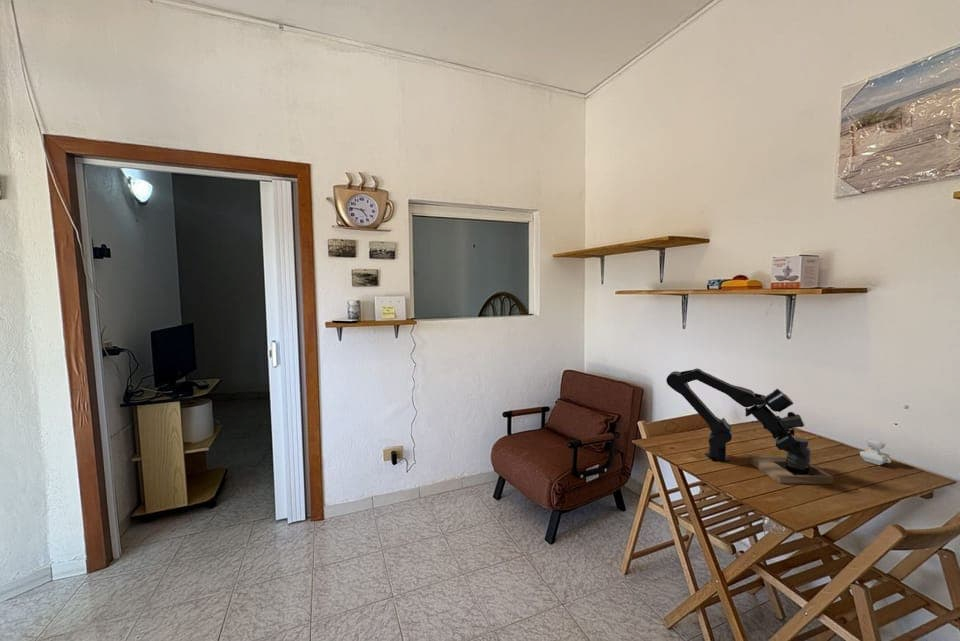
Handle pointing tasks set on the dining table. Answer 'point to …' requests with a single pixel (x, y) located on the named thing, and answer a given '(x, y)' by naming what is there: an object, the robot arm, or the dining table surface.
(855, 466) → the dining table surface
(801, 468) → the supplement bottle
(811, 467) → the tan flat square frame
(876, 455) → the stamp
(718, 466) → the dining table surface
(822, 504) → the dining table surface
